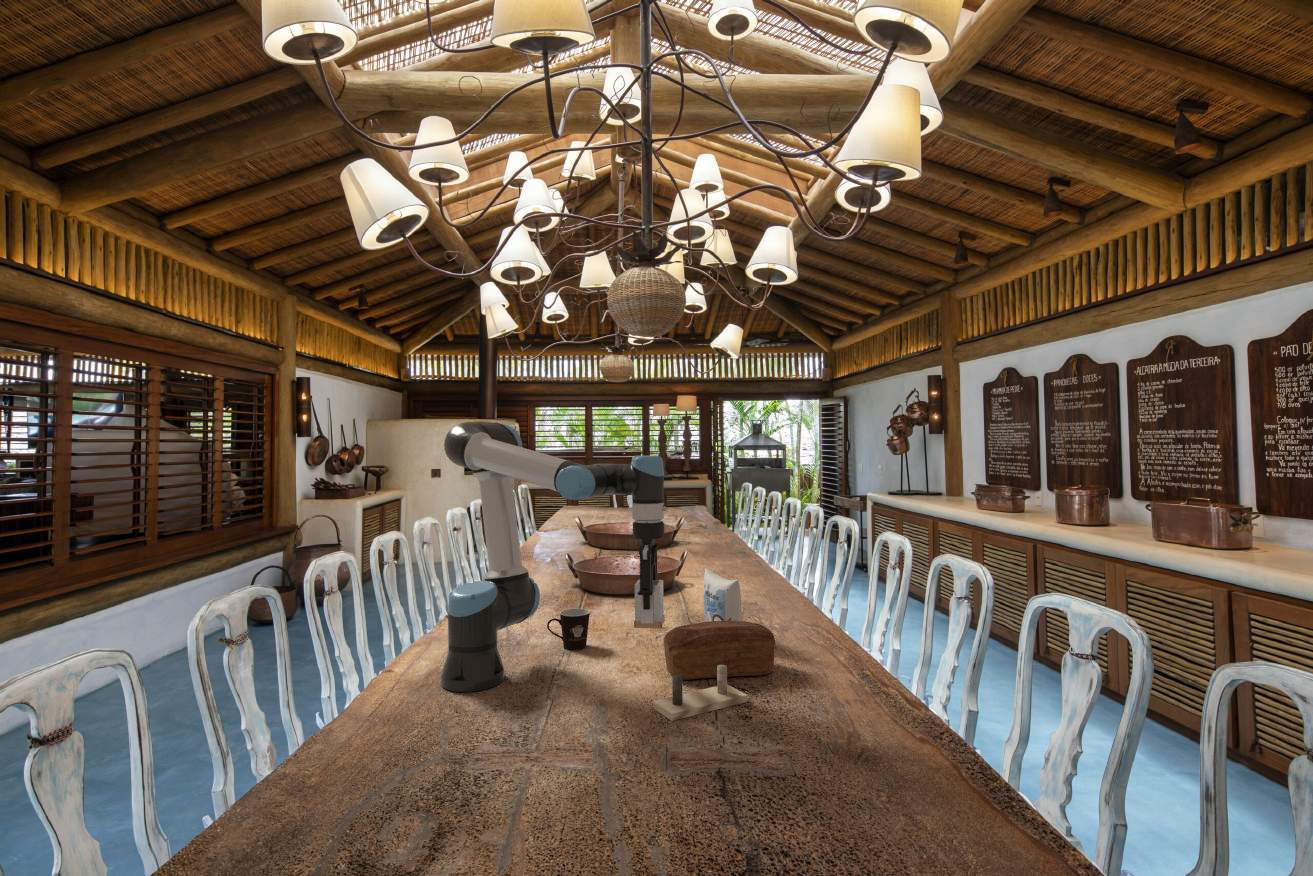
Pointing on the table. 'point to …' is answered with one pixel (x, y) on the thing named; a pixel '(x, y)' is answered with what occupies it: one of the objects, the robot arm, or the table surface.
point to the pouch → (721, 598)
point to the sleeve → (657, 606)
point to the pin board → (699, 698)
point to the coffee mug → (573, 628)
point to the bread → (719, 649)
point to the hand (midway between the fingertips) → (649, 618)
